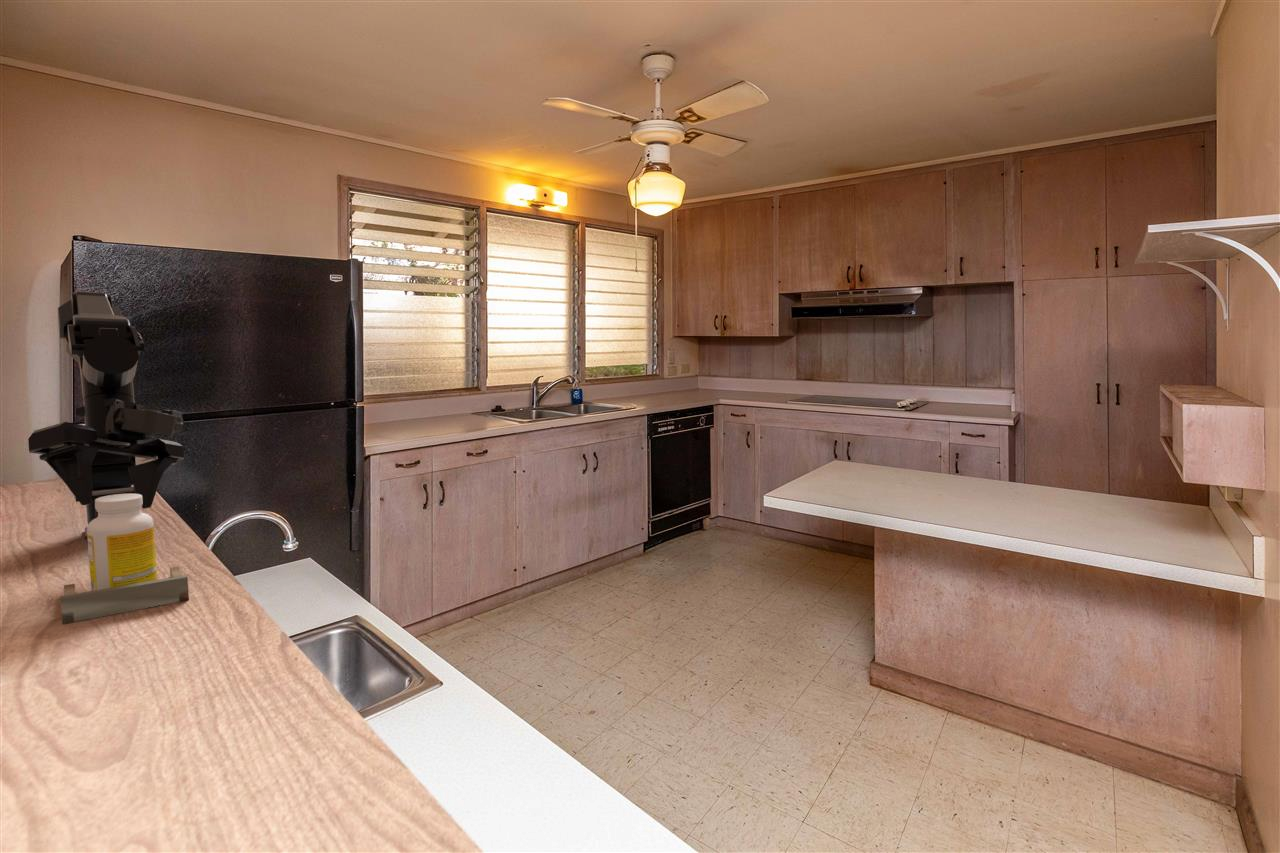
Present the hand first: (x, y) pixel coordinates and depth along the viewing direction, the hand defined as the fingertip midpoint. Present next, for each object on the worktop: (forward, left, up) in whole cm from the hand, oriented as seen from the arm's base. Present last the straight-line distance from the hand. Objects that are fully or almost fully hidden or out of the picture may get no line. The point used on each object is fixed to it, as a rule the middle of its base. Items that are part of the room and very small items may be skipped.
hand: (118, 506), depth 90 cm
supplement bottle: (+10, 0, -10) cm, 14 cm away
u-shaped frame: (+11, 0, -9) cm, 15 cm away
